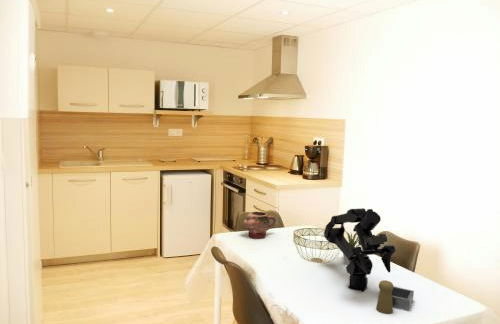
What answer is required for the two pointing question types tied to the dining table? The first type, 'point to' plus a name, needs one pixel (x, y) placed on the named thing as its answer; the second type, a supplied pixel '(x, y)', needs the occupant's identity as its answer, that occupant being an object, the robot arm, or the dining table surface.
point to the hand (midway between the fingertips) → (378, 272)
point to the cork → (385, 297)
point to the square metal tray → (402, 298)
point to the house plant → (351, 245)
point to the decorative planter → (258, 224)
